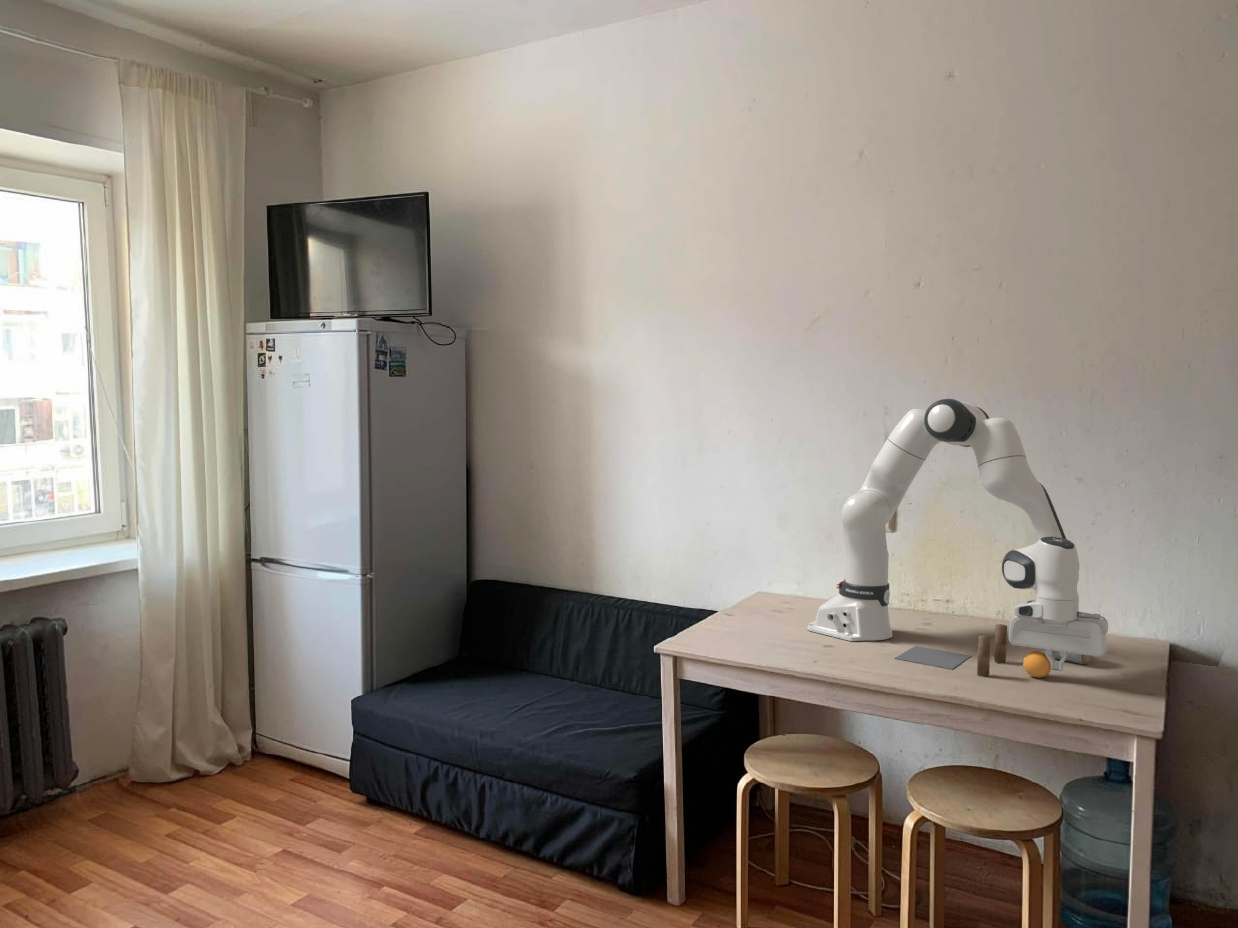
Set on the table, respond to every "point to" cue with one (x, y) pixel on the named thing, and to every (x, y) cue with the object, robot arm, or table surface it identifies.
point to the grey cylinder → (1074, 657)
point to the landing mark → (933, 657)
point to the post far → (1000, 643)
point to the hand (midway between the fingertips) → (1056, 669)
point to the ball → (1036, 664)
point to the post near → (983, 656)
